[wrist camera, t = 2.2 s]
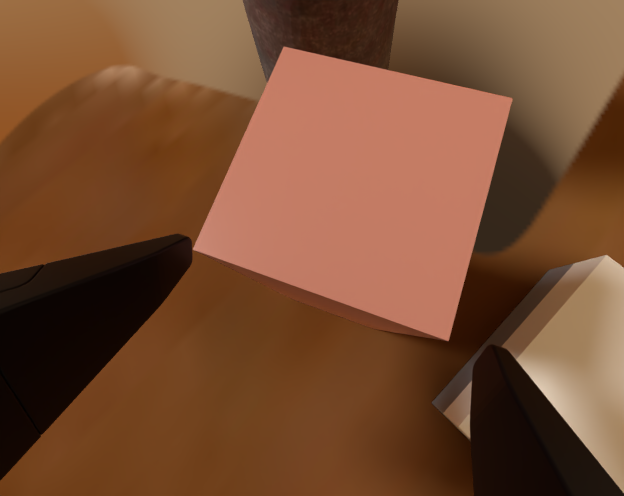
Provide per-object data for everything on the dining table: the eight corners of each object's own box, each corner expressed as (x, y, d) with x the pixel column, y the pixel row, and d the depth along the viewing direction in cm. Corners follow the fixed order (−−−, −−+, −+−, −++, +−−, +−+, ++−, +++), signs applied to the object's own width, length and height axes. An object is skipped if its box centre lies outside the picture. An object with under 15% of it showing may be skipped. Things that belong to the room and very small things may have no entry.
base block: (602, 572, 15) (697, 664, 11) (431, 403, 17) (458, 426, 13) (726, 409, 16) (854, 438, 12) (549, 269, 18) (606, 255, 14)
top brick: (373, 328, 18) (448, 340, 5) (292, 299, 19) (193, 249, 6) (398, 248, 19) (513, 98, 6) (320, 223, 20) (283, 46, 7)
